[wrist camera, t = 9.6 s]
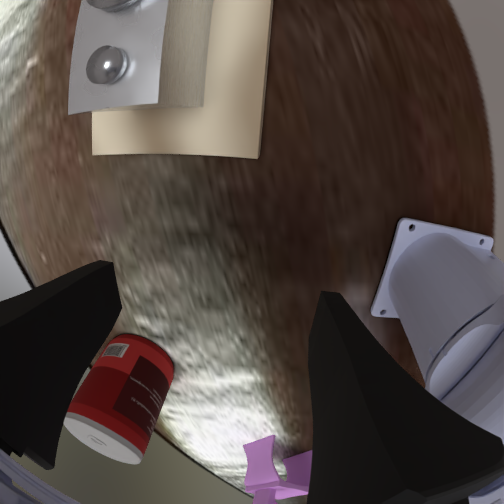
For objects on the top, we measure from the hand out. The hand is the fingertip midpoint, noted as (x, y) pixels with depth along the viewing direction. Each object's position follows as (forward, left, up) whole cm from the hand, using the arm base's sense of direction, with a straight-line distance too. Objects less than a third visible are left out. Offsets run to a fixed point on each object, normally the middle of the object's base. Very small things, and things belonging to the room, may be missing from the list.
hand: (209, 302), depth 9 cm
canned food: (+10, +17, -10) cm, 22 cm away
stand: (+5, -10, -10) cm, 15 cm away
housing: (+5, -10, -8) cm, 14 cm away
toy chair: (-7, +34, -10) cm, 36 cm away
